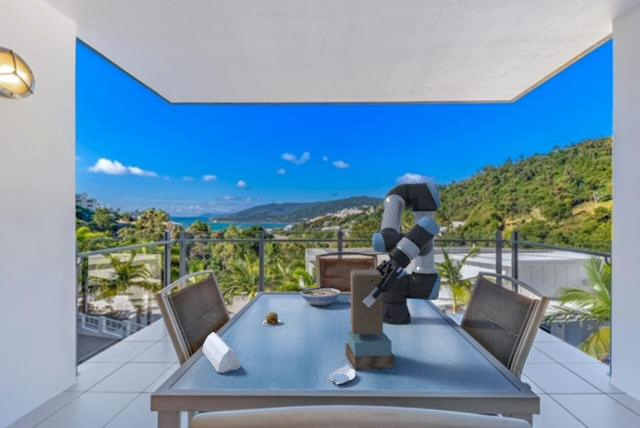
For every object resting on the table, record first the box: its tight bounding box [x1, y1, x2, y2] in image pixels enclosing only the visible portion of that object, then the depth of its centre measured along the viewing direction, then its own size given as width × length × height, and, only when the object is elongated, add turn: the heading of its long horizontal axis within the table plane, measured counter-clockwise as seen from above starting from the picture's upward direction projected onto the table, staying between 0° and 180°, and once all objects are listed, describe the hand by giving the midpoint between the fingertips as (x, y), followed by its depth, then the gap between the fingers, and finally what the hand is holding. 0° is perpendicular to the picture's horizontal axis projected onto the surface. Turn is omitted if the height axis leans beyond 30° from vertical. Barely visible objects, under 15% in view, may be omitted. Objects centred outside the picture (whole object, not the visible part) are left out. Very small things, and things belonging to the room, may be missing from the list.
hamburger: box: [262, 312, 283, 327], centre depth 162 cm, size 12×12×6 cm
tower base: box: [345, 343, 395, 372], centre depth 119 cm, size 13×13×4 cm
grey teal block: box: [347, 330, 393, 357], centre depth 119 cm, size 12×12×4 cm
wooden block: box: [349, 268, 384, 334], centre depth 120 cm, size 10×10×20 cm
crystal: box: [202, 331, 242, 374], centre depth 121 cm, size 7×7×24 cm
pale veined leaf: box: [328, 362, 356, 386], centre depth 106 cm, size 8×12×2 cm, turn 160°
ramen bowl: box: [297, 285, 341, 307], centre depth 198 cm, size 25×23×8 cm
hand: (360, 300), depth 119 cm, fingers closed on wooden block, 11 cm apart
